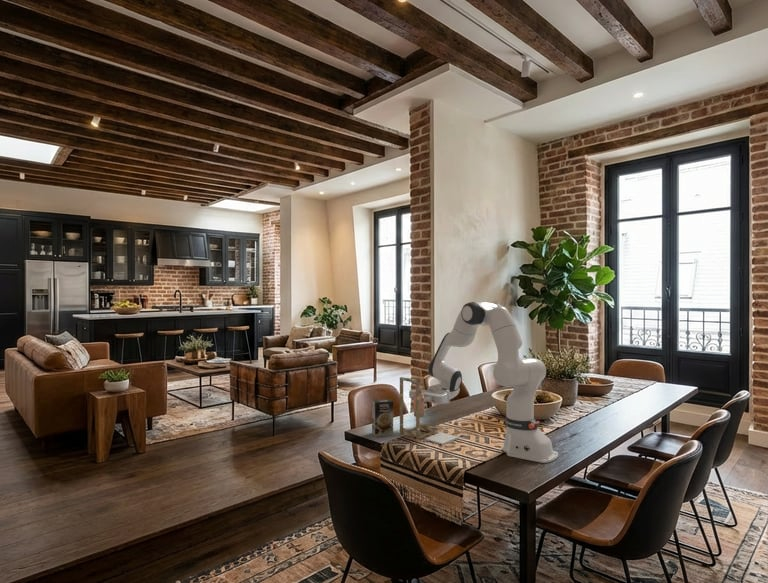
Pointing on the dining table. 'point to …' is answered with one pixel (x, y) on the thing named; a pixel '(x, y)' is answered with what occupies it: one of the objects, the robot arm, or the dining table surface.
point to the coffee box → (382, 417)
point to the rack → (418, 425)
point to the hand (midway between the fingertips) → (417, 398)
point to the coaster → (441, 438)
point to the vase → (420, 403)
